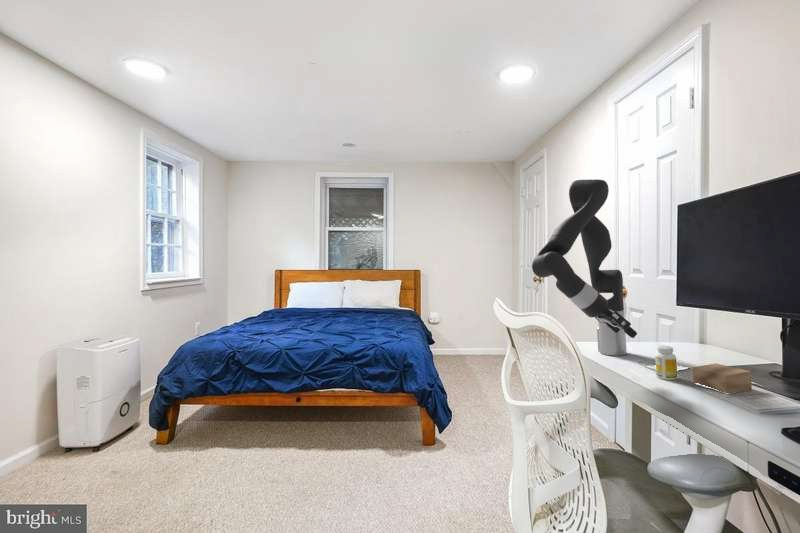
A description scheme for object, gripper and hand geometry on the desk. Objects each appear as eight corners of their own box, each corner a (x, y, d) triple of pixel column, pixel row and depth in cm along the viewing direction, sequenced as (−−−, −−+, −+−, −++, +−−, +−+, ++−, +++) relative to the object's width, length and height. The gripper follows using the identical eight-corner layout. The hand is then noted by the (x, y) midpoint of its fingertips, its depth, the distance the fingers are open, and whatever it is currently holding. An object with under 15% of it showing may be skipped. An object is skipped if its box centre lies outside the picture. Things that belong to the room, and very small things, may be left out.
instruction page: (646, 367, 126) (646, 366, 126) (666, 362, 130) (666, 361, 130) (669, 373, 119) (669, 372, 119) (690, 368, 122) (690, 367, 122)
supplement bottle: (653, 378, 116) (651, 347, 116) (659, 374, 119) (657, 344, 119) (674, 381, 111) (672, 350, 111) (679, 377, 115) (677, 346, 115)
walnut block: (693, 384, 108) (692, 367, 108) (716, 379, 110) (715, 363, 110) (727, 394, 100) (726, 375, 99) (751, 389, 102) (750, 371, 102)
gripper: (607, 291, 108) (649, 328, 108) (584, 288, 122) (620, 320, 122) (590, 311, 108) (632, 347, 108) (569, 305, 123) (605, 337, 122)
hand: (626, 333), depth 115 cm, fingers open, 8 cm apart
